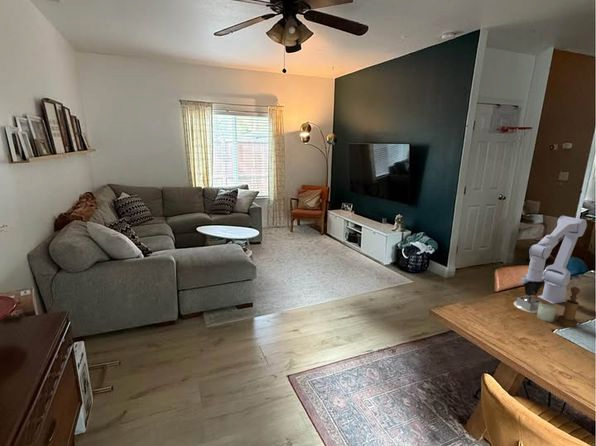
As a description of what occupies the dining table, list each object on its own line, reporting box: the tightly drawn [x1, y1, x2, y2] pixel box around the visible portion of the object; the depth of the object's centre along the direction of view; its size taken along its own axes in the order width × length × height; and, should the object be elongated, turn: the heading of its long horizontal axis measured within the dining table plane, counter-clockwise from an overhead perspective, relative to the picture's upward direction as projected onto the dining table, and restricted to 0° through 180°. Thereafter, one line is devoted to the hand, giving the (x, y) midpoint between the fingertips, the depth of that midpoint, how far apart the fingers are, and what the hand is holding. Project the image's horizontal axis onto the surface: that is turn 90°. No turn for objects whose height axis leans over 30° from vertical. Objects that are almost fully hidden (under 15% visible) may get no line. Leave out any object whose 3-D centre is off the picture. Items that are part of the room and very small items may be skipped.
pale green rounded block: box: [536, 303, 557, 323], centre depth 143 cm, size 6×6×6 cm
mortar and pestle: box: [557, 286, 581, 329], centre depth 137 cm, size 7×6×18 cm
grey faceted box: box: [516, 294, 543, 311], centre depth 154 cm, size 7×9×4 cm
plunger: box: [523, 289, 536, 303], centre depth 152 cm, size 5×5×6 cm
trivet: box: [513, 300, 538, 314], centre depth 154 cm, size 12×12×1 cm
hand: (530, 294), depth 152 cm, fingers closed on plunger, 3 cm apart
